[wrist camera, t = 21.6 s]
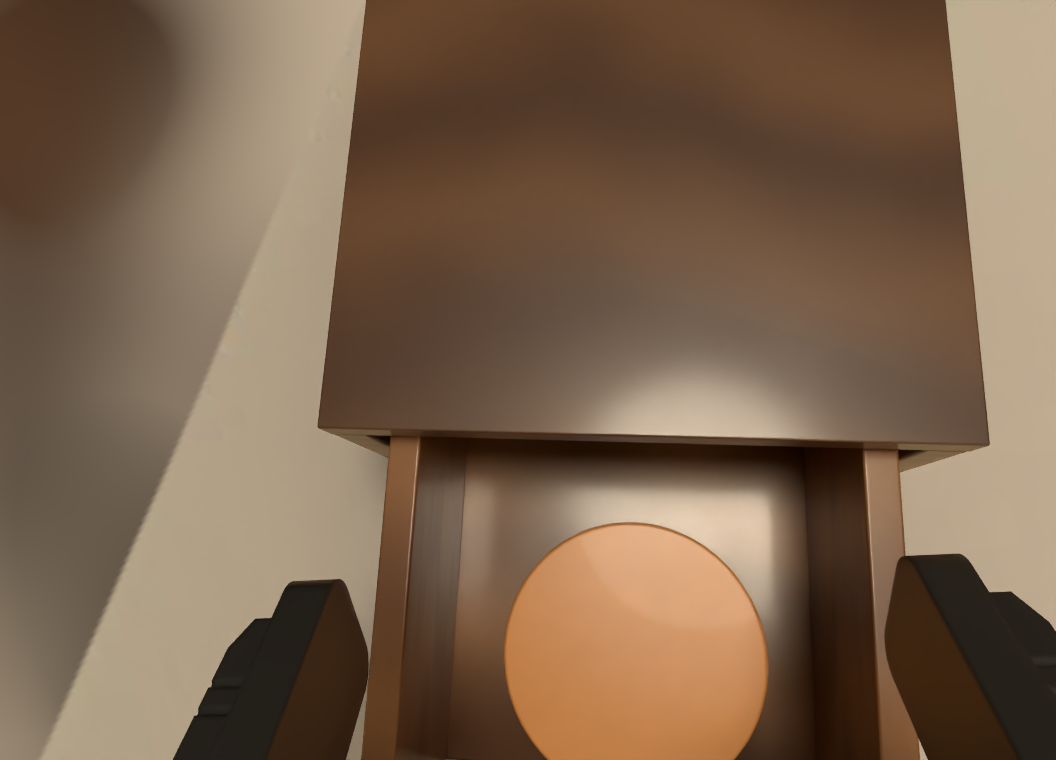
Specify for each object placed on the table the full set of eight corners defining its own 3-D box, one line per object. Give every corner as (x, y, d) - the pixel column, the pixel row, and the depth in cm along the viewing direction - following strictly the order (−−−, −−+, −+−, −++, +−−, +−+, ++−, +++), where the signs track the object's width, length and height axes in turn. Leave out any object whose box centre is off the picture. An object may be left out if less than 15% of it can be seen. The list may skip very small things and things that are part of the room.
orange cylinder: (638, 759, 21) (647, 865, 14) (506, 627, 22) (450, 660, 15) (756, 619, 21) (825, 650, 14) (620, 498, 23) (620, 470, 15)
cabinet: (859, 485, 24) (990, 445, 15) (417, 471, 26) (316, 427, 17) (836, 85, 27) (933, -129, 19) (447, 99, 29) (375, -90, 21)
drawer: (881, 1089, 19) (1019, 1368, 13) (383, 1021, 21) (273, 1234, 14) (844, 407, 24) (932, 348, 17) (432, 399, 25) (364, 342, 19)
